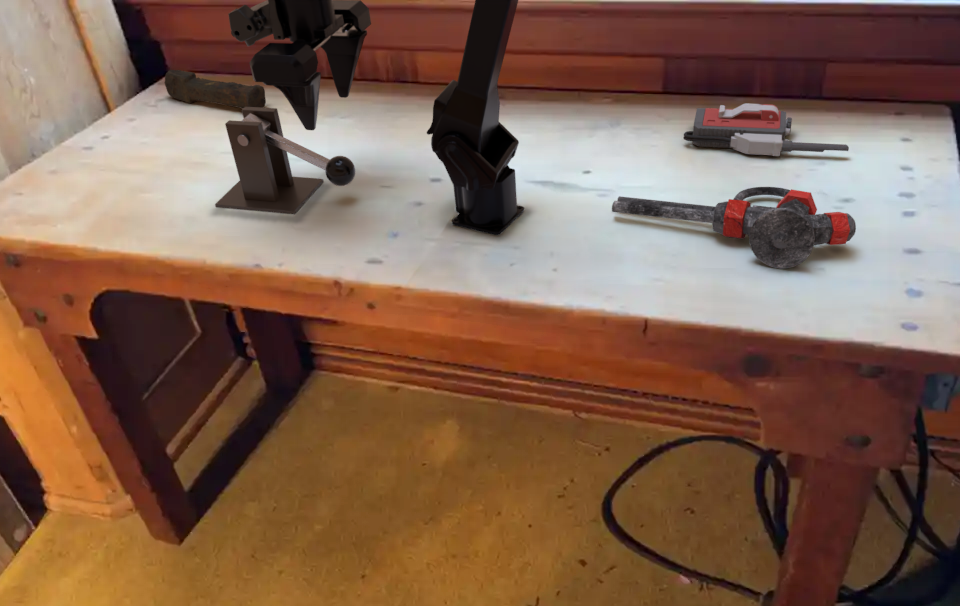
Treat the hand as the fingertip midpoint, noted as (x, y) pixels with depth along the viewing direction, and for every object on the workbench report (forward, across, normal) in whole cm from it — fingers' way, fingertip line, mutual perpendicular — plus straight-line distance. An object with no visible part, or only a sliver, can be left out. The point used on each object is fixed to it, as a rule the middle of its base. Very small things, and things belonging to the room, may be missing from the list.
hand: (327, 112), depth 105 cm
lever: (+6, +1, -5) cm, 8 cm away
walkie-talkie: (+13, -24, +48) cm, 56 cm away
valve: (+13, -3, +46) cm, 48 cm away
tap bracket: (+12, +1, -10) cm, 16 cm away
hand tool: (+12, -26, -34) cm, 45 cm away
